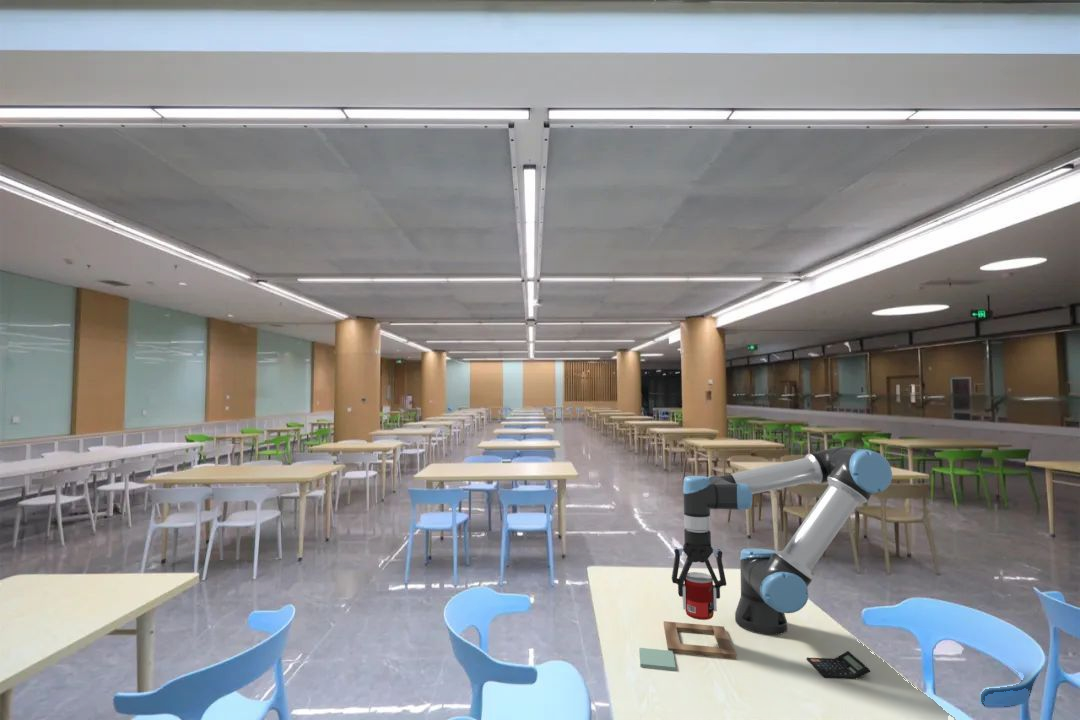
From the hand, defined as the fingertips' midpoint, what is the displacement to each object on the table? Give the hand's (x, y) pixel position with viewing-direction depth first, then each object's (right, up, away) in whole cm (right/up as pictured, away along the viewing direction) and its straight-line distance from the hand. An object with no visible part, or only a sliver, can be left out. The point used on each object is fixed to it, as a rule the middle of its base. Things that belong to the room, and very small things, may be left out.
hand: (699, 608), depth 151 cm
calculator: (+32, -9, -15) cm, 37 cm away
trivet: (-15, -8, -13) cm, 21 cm away
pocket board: (-1, -9, -1) cm, 9 cm away
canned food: (0, -2, 0) cm, 2 cm away
